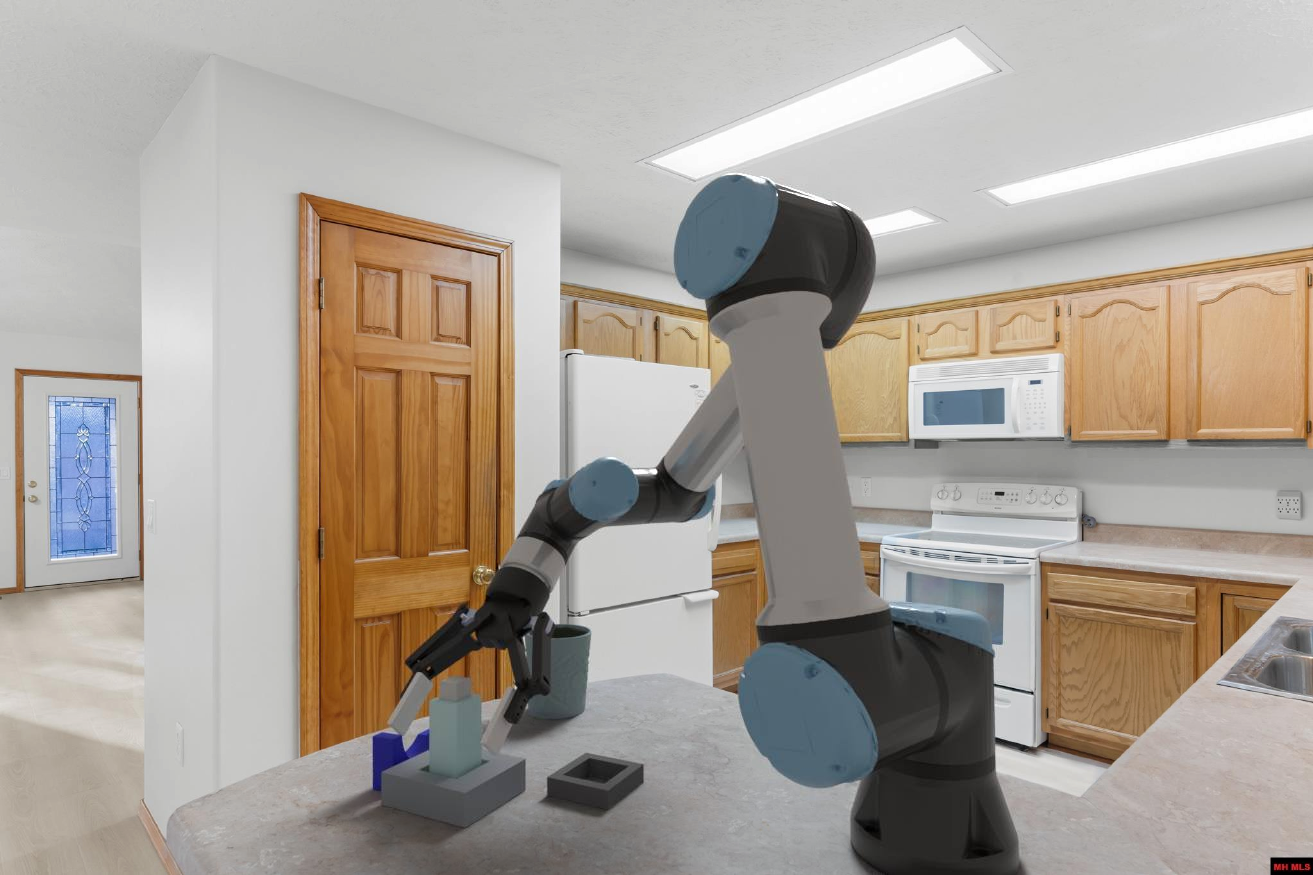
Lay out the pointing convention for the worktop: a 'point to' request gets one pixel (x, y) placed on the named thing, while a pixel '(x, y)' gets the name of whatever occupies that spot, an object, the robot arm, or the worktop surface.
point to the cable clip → (394, 752)
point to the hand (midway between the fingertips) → (440, 739)
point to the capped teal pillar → (455, 729)
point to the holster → (574, 788)
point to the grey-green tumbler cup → (563, 673)
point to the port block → (453, 788)
